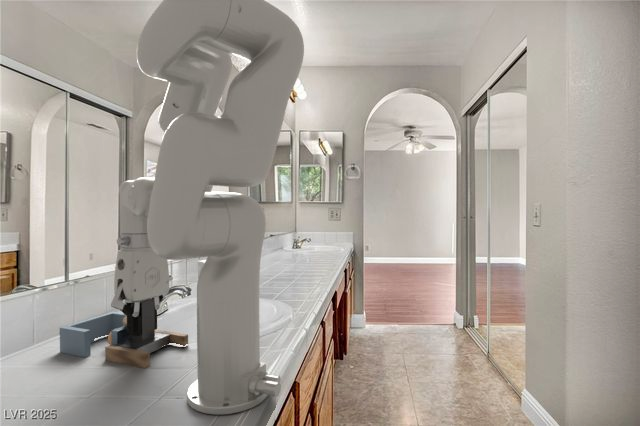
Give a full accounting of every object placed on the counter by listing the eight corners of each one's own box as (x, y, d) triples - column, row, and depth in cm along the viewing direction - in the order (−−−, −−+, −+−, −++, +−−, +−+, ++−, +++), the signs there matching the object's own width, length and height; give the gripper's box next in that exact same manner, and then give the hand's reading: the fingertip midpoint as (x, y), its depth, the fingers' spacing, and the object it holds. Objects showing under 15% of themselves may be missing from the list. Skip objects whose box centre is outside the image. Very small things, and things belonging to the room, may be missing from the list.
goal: (136, 336, 85) (136, 314, 85) (84, 357, 74) (84, 331, 73) (113, 332, 88) (113, 311, 88) (60, 352, 76) (59, 327, 76)
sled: (169, 344, 79) (169, 296, 79) (136, 359, 71) (136, 307, 71) (141, 339, 82) (140, 293, 82) (106, 353, 74) (106, 303, 74)
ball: (135, 331, 79) (123, 322, 81) (119, 337, 76) (106, 327, 77) (130, 347, 80) (117, 337, 81) (113, 354, 76) (100, 344, 78)
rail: (188, 346, 79) (188, 334, 79) (144, 368, 68) (144, 354, 68) (151, 340, 83) (151, 328, 83) (105, 360, 72) (105, 347, 72)
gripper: (119, 246, 67) (120, 349, 67) (185, 238, 82) (185, 322, 82) (90, 245, 70) (91, 343, 70) (158, 237, 85) (159, 318, 85)
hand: (142, 331), depth 76 cm, fingers closed on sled, 3 cm apart
